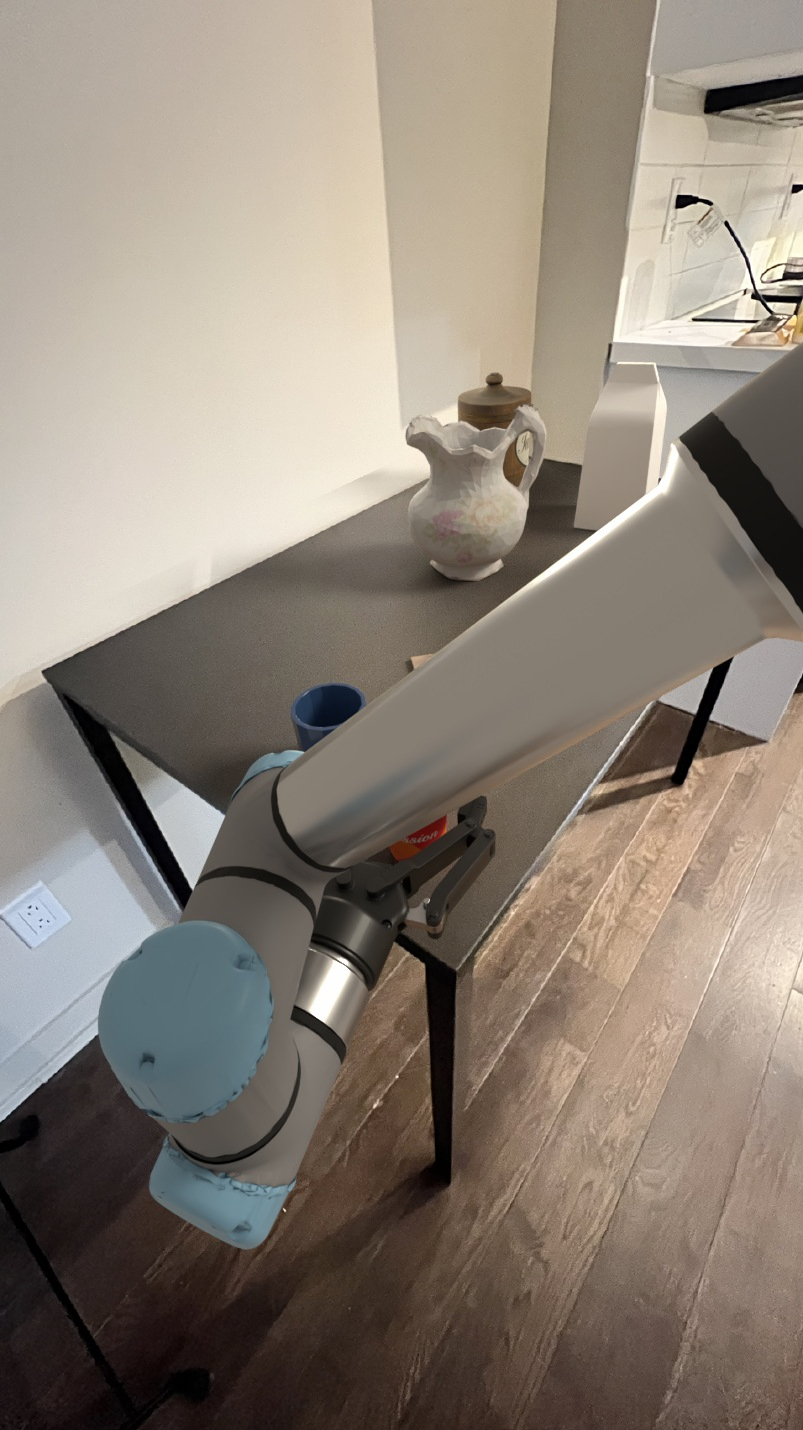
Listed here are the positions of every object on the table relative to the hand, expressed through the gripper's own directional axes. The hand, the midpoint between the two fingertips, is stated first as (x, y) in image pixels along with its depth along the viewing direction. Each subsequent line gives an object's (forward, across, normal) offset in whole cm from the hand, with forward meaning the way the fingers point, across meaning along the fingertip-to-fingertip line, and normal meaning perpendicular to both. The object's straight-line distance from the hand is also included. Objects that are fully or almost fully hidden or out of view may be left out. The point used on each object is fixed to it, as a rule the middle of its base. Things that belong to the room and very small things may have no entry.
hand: (427, 762), depth 60 cm
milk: (+79, +9, -8) cm, 79 cm away
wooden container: (+92, -18, -8) cm, 94 cm away
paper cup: (-4, 0, -8) cm, 9 cm away
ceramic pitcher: (+56, -12, -8) cm, 57 cm away
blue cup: (+4, -12, -8) cm, 15 cm away
